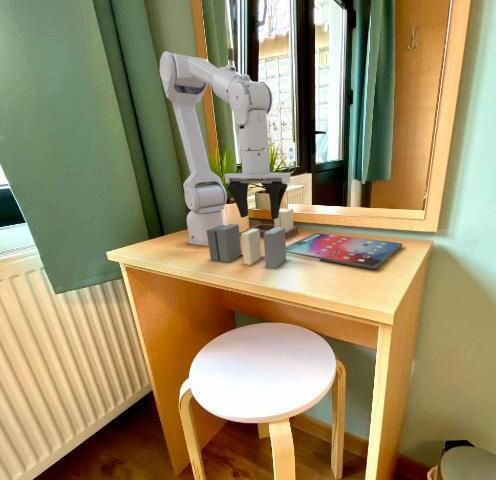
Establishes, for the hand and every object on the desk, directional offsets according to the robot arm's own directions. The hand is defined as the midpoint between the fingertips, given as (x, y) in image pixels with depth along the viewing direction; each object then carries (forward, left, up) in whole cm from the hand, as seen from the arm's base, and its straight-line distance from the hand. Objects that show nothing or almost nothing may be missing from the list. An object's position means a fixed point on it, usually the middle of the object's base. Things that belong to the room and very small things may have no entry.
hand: (259, 217), depth 67 cm
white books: (-4, +20, -9) cm, 23 cm away
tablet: (+16, +12, -10) cm, 22 cm away
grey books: (-3, -2, -10) cm, 10 cm away
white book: (-2, -2, -10) cm, 10 cm away
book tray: (-7, +20, -10) cm, 24 cm away
